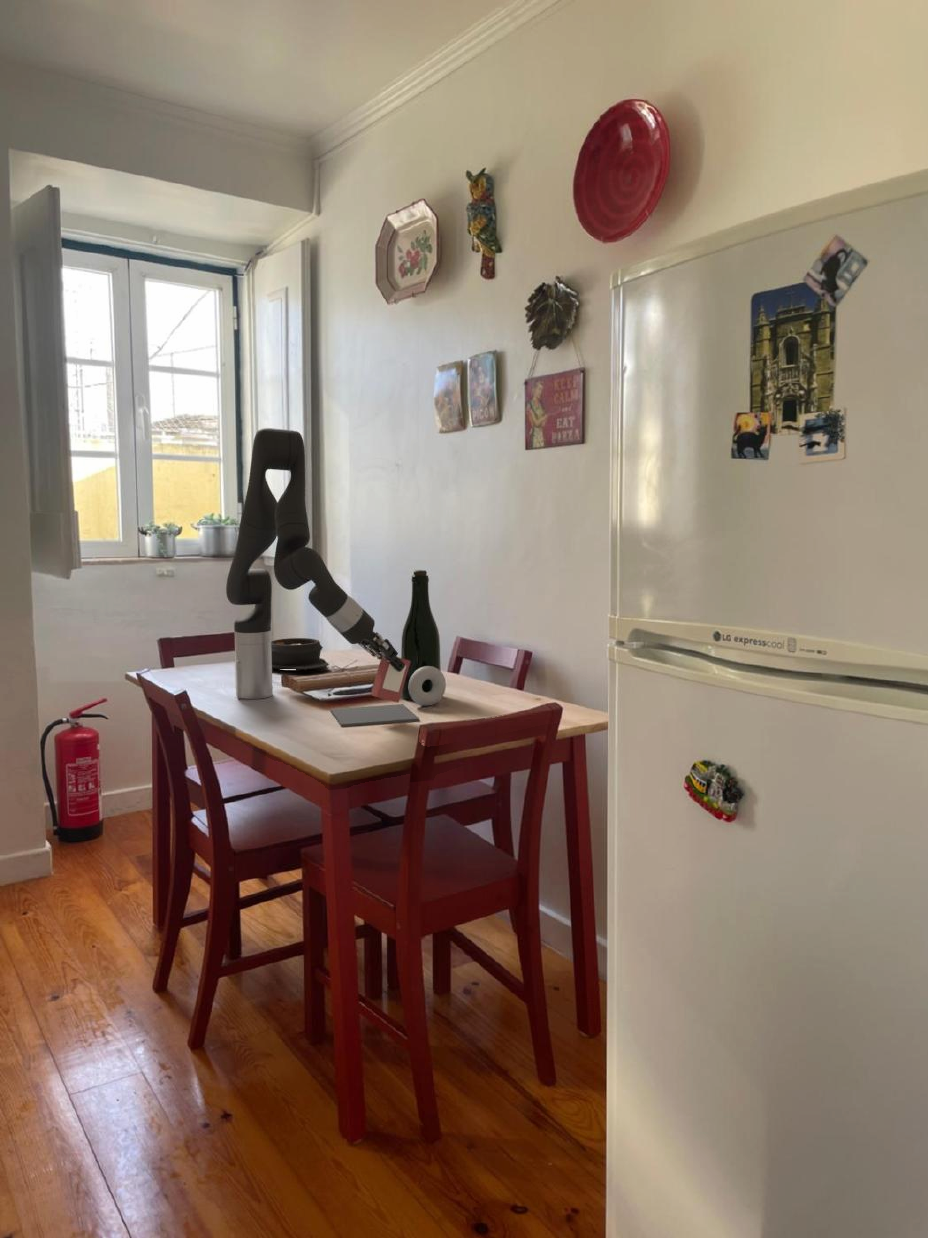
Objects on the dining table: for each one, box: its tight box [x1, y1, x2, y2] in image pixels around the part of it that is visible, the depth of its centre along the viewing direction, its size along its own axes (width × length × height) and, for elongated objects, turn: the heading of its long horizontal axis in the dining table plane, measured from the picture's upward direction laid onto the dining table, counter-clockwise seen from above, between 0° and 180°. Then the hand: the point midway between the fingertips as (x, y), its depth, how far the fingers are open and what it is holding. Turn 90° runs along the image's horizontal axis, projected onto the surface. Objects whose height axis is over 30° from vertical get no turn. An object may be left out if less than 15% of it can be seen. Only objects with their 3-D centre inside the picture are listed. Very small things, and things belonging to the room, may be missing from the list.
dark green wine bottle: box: [400, 569, 442, 701], centre depth 230 cm, size 10×10×33 cm
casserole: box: [271, 637, 330, 671], centre depth 274 cm, size 25×19×8 cm
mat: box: [330, 703, 420, 728], centre depth 211 cm, size 18×16×1 cm
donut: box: [408, 666, 447, 707], centre depth 222 cm, size 10×4×10 cm, turn 118°
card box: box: [370, 656, 411, 703], centre depth 206 cm, size 6×3×10 cm, turn 123°
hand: (398, 667), depth 207 cm, fingers closed on card box, 3 cm apart
